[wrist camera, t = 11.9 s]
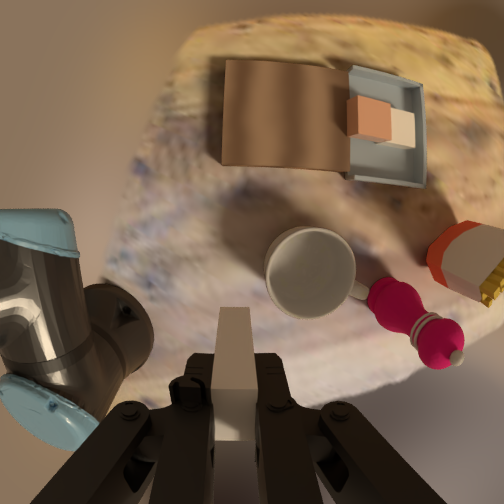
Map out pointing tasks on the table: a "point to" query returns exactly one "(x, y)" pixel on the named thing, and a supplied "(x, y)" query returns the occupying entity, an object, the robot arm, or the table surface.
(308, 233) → the teacup
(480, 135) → the table surface
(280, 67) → the walnut board
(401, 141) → the cream square block
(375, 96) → the tray
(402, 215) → the table surface
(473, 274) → the french fries container
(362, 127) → the orange square block
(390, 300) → the pepper mill
